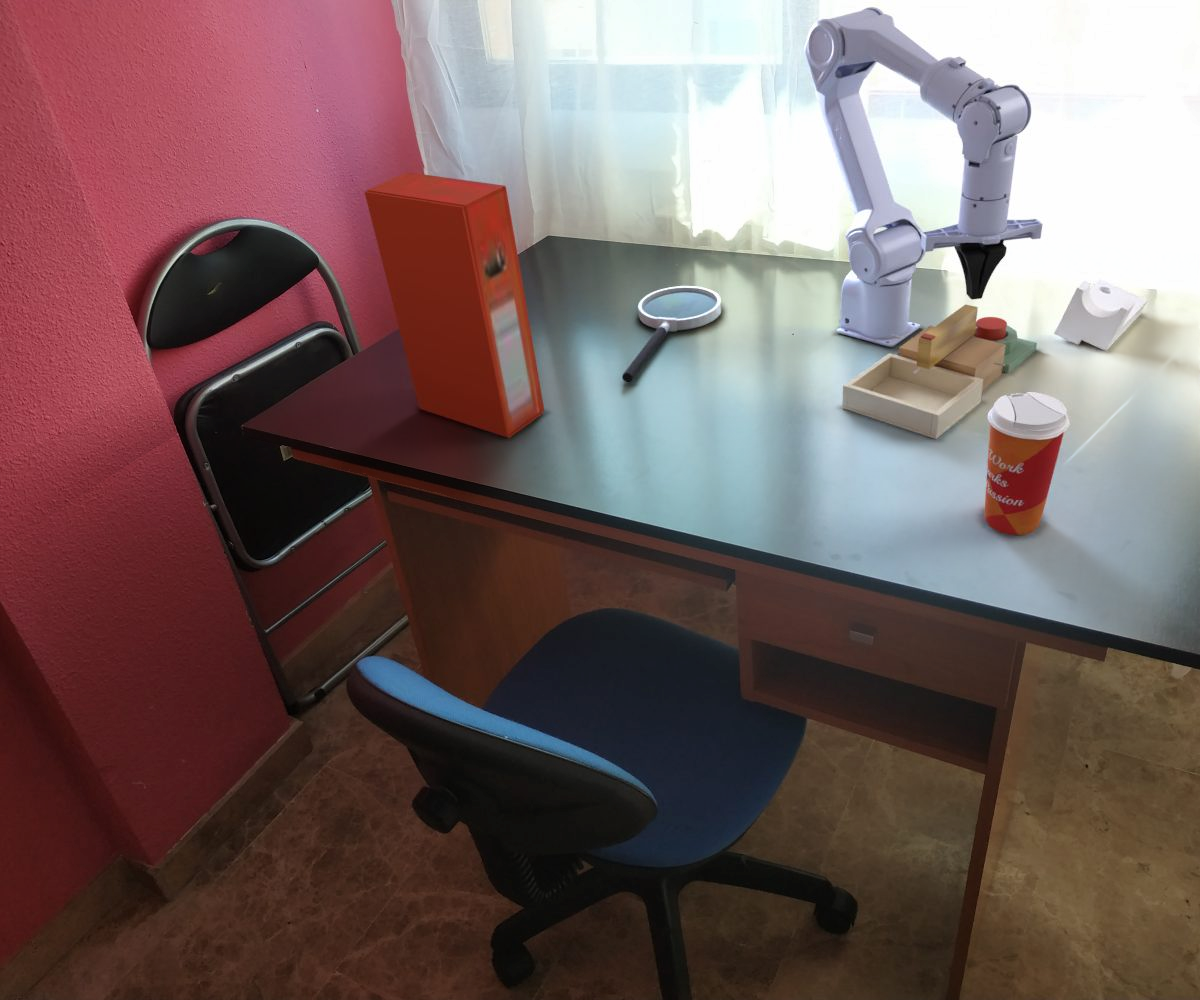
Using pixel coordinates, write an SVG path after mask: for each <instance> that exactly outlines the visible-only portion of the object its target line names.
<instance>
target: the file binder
mask: <svg viewBox="0 0 1200 1000" xmlns="http://www.w3.org/2000/svg"><path fill="white" fill-rule="evenodd" d="M363 193H364V197H365V200H366V204H367V208H368V213H369V216H370V220H371V223H372V227H373V232H374V236H375V239H376V244H377V247H378V252H379V255H380V259H381V263H382V266H383V267H382V268H383V270H384V274H385V275H384V276H385V278H386V283H387V286H388V290H389V295H390V297H391V302H392V306H393V309H394V313H395V318H396V322H397V326H398V330H399V333H400V337H401V340H402V346H403V348H404V353H405V356H406V360H407V364H408V369H409V372H410V376H411V380H412V385H413V389H414V392H415V396H416V399H417V404H418V408H419V409H420V410H421V411H425V412H428V413H431V414H433V415H437V416H440V417H443V418H446V419H449V420H453V421H456V422H458V423H462V424H465V425H467V426H470V427H474V428H477V429H480V430H483V431H486V432H489V433H492V434H495V435H499V436H500V437H504V438H507V439H510V438H511V437H513V436H514V435H515V434H516V433H518V432H520V431H521V430H522V429H523V428H525V427H526V426H528V425H529V424H530V423H532V422H533V421H535V420H536V419H537V418H538V417H540V416H541V415H543V413H544V412H545V406H544V402H543V401H544V400H543V394H542V389H541V384H540V377H539V371H538V365H537V360H536V354H535V348H534V342H533V336H532V331H531V325H530V319H529V312H528V306H527V302H526V296H525V291H524V283H523V277H522V273H521V267H520V266H521V265H520V261H519V256H518V249H517V243H516V238H515V231H514V225H513V220H512V219H513V218H512V213H511V209H510V203H509V202H510V201H509V197H508V191H507V186H505V185H503V184H497V183H496V184H495V183H489V182H482V181H474V180H467V179H461V178H453V177H447V176H446V177H445V176H437V175H430V174H424V173H416V172H410V171H409V172H408V171H407V172H405V173H403V174H400V175H398V176H395V177H393V178H391V179H389V180H387V181H384V182H382V183H380V184H377V185H376V186H373V187H370V188H368V189H366V191H363Z"/></svg>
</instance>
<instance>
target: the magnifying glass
mask: <svg viewBox="0 0 1200 1000" xmlns="http://www.w3.org/2000/svg"><path fill="white" fill-rule="evenodd" d="M637 308H638V309H637V310H638V318H639V320H640V321H641V322H642V324H644V325H646V326H648V327H651V328H653V329H656V330H655V331H654V333H653V334H652V335H651V336H650V338H649V339H648V341H647V342H646V343H645V345H644V346H643V348H641V350H640V351H639V353H638V354H637V355H636V357H635V358H634V360H633V361H632V362H631V364H630V365H629V366H628V367H627V369H626V370H625V371H624V372H623V374H622V380H623V382H625V383H626V384H627V383H628V384H629V383H632V382H633V380H634V379H635V378H636V376H637V375H638V373H640V371H641V370H642V368H643V367H644V365H646V363H647V362H648V360H649V358H650V357H651V356H652V354H654V351H655V350H656V349H657V348H658V346H659V345H660V344H661V342H662V340H663V339H664V338H665V337H666V335H667V334H668V332H677V331H683V330H691V329H696V328H699V327H700V328H701V327H702V326H705V325H707V324H709V323H711V322H714V321H715V320H716V319H718V317H719V316H720V315H721V313H722V299H721V296H720V294H719V293H717V292H716V291H714V290H712V289H709V288H706V287H702V286H695V285H680V286H679V285H678V286H672V287H665V288H661V289H658V290H655V291H652V292H650V293H648V294H646V295H645V296H644V297H642V299H640V301H639V302H638V306H637Z"/></svg>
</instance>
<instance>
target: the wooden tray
mask: <svg viewBox="0 0 1200 1000" xmlns="http://www.w3.org/2000/svg"><path fill="white" fill-rule="evenodd" d="M917 369H921V370H920V371H919V372H918V373H917V374H915V375H914V374H912V373H913V372H915V371H916V370H917ZM982 386H983V379H980V378H976V377H973V376H969V375H966V374H962V373H959V372H955V371H951V370H948V369H944V368H941V367H937V366H933V367H931V368H930V369H926V368H922V367H919V366H917V361H916V360H912V359H909V358H905V357H902V356H899V354H898V355H897V354H894V353H891V352H889V353H887V354H886V355H884V356H883V357H881V358H880V359H879V360H877V361H875V362H874V363H873V364H871V365H870V366H869V367H867V368H866V369H864V370H863V371H862V372H860V373H858V374H857V375H856V376H854V377H853V378H852V379H850V380H848V381H847V382H846V383H844V384H843V385H842V402H841V403H842V405H841V408H842V409H844V410H846V411H850V412H853V413H855V414H859V415H862V416H865V417H867V418H872V419H874V420H877V421H880V422H883V423H886V424H889V425H892V426H895V427H898V428H901V429H905V430H908V431H911V432H913V433H915V434H920V435H922V436H926V437H929V438H931V439H935V440H937V439H938V438H940V437H941V436H942V435H943V434H944V433H946V432H947V431H949V429H950V428H952V427H953V426H954V425H955V424H956V423H957V422H959V421H960V420H961V419H963V418H964V417H965V416H966V415H967V414H968V413H970V412H971V411H972V410H973V409H974V408H975V407H977V406H978V405H979V404H981V400H982V394H983V390H982Z"/></svg>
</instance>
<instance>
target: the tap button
mask: <svg viewBox="0 0 1200 1000" xmlns="http://www.w3.org/2000/svg"><path fill="white" fill-rule="evenodd" d="M976 326H977V327H978V328H977V329H976V330H975V337H977V338H981V339H985V340H989V341H997V340H1001V339H1004V338H1005V336H1006V328H1007V326H1008V323H1007V321H1006V320H1005V319H1004V318H1002V317H995V316H985V317H981V318H979V319H976Z"/></svg>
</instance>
